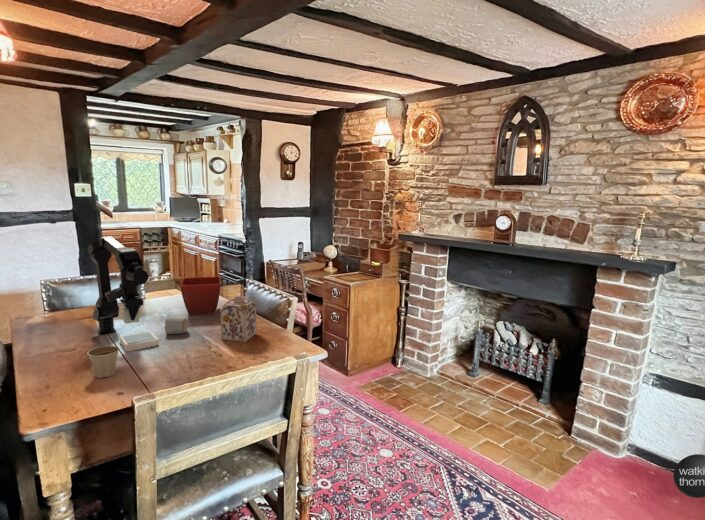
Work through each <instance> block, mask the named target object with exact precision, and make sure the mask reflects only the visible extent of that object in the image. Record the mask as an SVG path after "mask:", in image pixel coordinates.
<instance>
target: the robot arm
mask: <svg viewBox="0 0 705 520" xmlns="http://www.w3.org/2000/svg"><path fill="white" fill-rule="evenodd" d="M87 253H88V255H89V258H90V260H92V262H93V263H94V265H95V273H96V281H97V287H98V298H97V300H96V301H95V309H94V310H93V313H92V318H93V320H95V321H97V322H98V329H96V330H97V332H98V335H104V334H112V333H116V332H117V330H116V328H115V324H114V323H115V322H114V319H115V318H119V313H120V306H119V304H118V299H119V302H121V303H122V304H123V306H124V307H125V308H128V311H129V314H130V318H131V320H135V317H136V315H137V312H138V310H139V311H140V308H141V306H144V300H143V299H142V297H140V293H139V290H138V289H139V288H138V287H139V285H140V286H141V285H144V284H146V283H147V282H148V280H149V273H148V272H147V271H146V270H144V268H143V267H144V264H143V263H144V261H143V260H142V258H141V255H140V254H139V252H138V251H137V250H136V249H135V248H132V247H126V246H124V245H123V244H121V243H120V242H119V241H118V240H116V239H115V238H114V236H109V235H108V236H100V237H99V238H98V239H97V240H95V241H93V242H91V243H90V244H89V245H88V247H87ZM113 255H114V256H115V259H114V260H115V261H116V262H117V264H118V269H119V272H120V274H119V275H120V282H119V287H116V288H113V289H112V285H111V277H110V268H109V267H110V266H109V261H110V260H111V259H112V256H113Z"/></svg>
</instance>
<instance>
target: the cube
mask: <svg viewBox="0 0 705 520" xmlns="http://www.w3.org/2000/svg"><path fill="white" fill-rule="evenodd" d="M122 320H123V322H124V324H126V325H127V324H133V323H138V322H139V323H140V309H139V310H138V312H137V315H136V317H135V320H131V318H130V314H129V311H128V308H126V307H125V308H122Z"/></svg>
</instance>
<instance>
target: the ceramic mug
mask: <svg viewBox="0 0 705 520" xmlns="http://www.w3.org/2000/svg"><path fill="white" fill-rule="evenodd" d="M187 329H188V319H187V318H186V317H183V316H167V317H166V318H165V321H164V332H165V334H167V335H175V334H176V335H177V334H178V335H181V334H185V333H186V332H187Z"/></svg>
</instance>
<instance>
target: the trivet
mask: <svg viewBox="0 0 705 520" xmlns="http://www.w3.org/2000/svg"><path fill="white" fill-rule="evenodd" d="M119 343H120V345H121V346H122V348H123V349H124V350H125V352H132V351H135V350H141V349H142V350H143V349H147V348H151V346H153V347H156V345H158V346H160V340H159V338H158V337H157V336H156V335H155V334H154V333H153V332H152V331H150V330H149V331H144V332H139V333H135V334H128V335H123V336H119ZM146 347H147V348H146Z"/></svg>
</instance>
